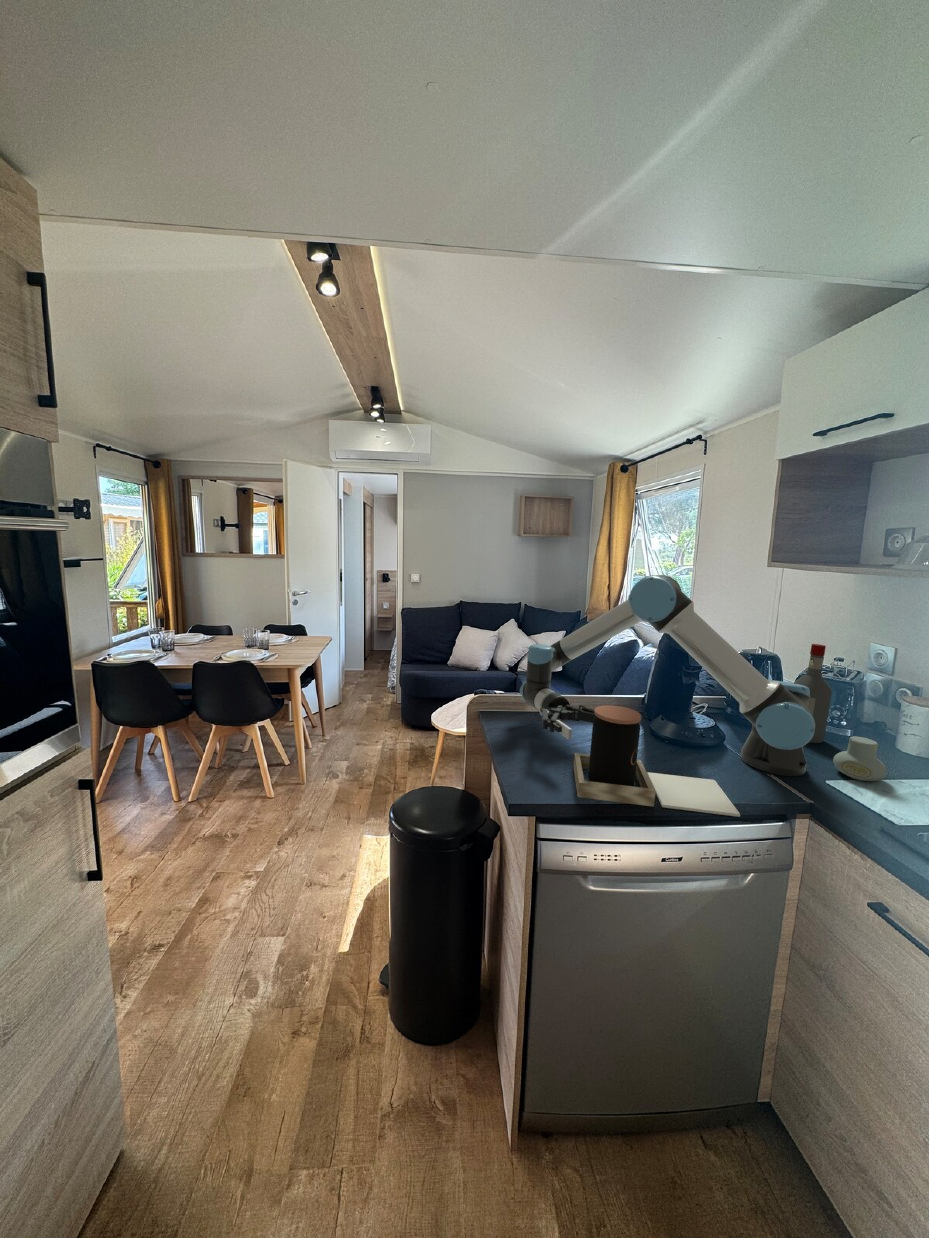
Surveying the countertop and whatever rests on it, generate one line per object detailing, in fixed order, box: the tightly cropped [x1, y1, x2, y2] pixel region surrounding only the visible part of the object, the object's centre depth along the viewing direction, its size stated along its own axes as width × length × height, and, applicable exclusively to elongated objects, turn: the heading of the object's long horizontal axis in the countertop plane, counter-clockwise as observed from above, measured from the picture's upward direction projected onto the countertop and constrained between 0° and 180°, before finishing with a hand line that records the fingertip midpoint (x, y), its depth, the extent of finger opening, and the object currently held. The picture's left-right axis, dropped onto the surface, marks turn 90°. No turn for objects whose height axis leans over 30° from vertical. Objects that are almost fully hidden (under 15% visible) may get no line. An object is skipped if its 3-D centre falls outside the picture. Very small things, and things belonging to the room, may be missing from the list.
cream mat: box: [646, 771, 741, 818], centre depth 114 cm, size 16×16×1 cm
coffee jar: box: [587, 704, 642, 787], centre depth 115 cm, size 11×11×18 cm
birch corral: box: [572, 752, 656, 807], centre depth 116 cm, size 16×16×4 cm
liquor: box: [793, 643, 833, 744], centre depth 152 cm, size 9×9×30 cm
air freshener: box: [832, 735, 888, 782], centre depth 128 cm, size 11×8×10 cm
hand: (593, 732), depth 123 cm, fingers open, 13 cm apart
